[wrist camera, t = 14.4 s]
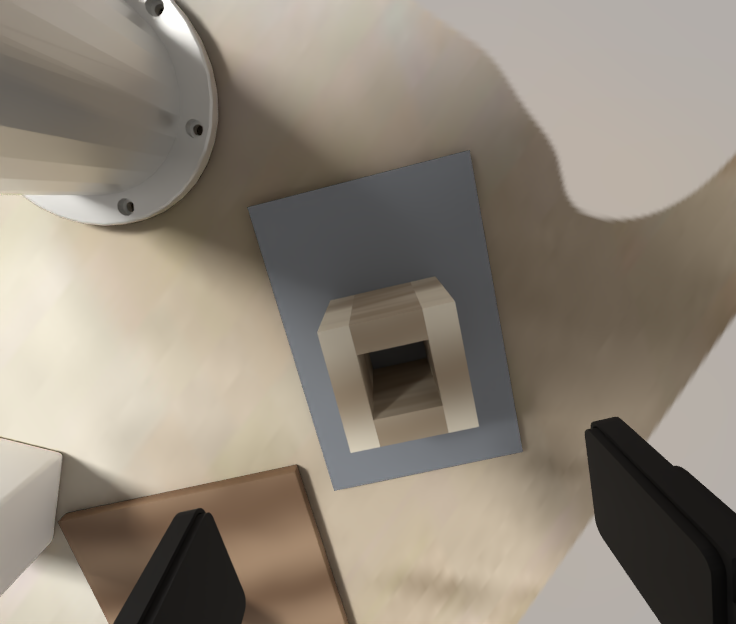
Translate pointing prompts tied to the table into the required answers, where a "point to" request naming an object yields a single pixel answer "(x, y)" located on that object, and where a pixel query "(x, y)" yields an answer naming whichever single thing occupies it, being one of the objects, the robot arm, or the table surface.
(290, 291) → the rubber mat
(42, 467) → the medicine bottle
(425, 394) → the ring block
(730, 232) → the table surface
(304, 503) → the peg stand
